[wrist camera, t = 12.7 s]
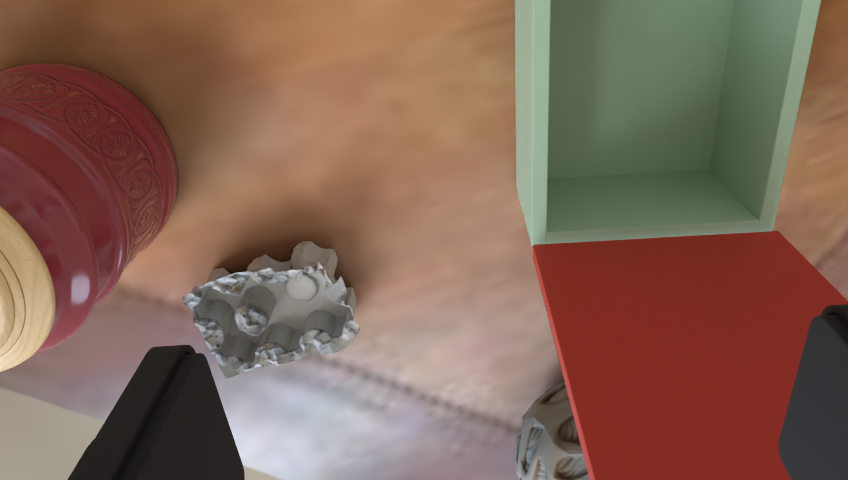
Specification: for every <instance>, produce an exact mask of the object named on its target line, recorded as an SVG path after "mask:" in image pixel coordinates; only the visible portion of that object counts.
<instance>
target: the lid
mask: <svg viewBox="0 0 848 480" xmlns="http://www.w3.org/2000/svg"><path fill="white" fill-rule="evenodd" d="M533 260H534V264H535V268H536V272H537V276H538V279H539V283H540V287H541V291H542V295H543V299H544V303H545V307H546V311H547V315H548V319H549V322H550V326H551V330H552V334H553V338H554V342H555V346H556V350H557V354H558V358H559V362H560V365H561V369H562V373H563V377H564V381H565V385H566V389H567V393H568V397H569V401H570V405H571V409H572V412H573V416H574V420H575V424H576V428H577V432H578V436H579V440H580V444H581V448H582V452H583V455H584V459H585V463H586V467H587V471H588V475H589V479H590V480H792V479H791V477H790V476H789V474H788V472H787V471H786V469H785V467H784V465H783V463H782V461H781V458H780V454H779V447H778V443H779V438H780V434H781V430H782V426H783V423H784V419H785V415H786V412H787V408H788V404H789V401H790V397H791V393H792V389H793V386H794V382H795V378H796V375H797V371H798V367H799V363H800V360H801V356H802V352H803V349H804V345H805V341H806V337H807V334H808V330H809V326H810V323H811V321H812V319H813V318H814V317H815V316H820V315H821V314H822V311H823V310H824V309H825V308H826V307H827V306H830V305H841V304H848V301H847V300H846V299H845V298H844V297H843V296H842V295H841V294H840V293H839V292H838V291H837V290H836V289H835V288H834V287H833V286H832V285H831V284H830V283H829V282H828V281H827V280H826V279H825V278H824V277H823V276H822V275H821V274H820V273H819V272H818V271H817V270H816V269H815V268H814V267H813V266H812V265H811V264H810V263H809V262H808V261H807V260H806V259H805V258H804V257H803V256H802V255H801V254H800V253H799V252H798V251H797V250H796V249H795V248H794V247H793V246H792V245H791V244H790V243H789V242H788V241H787V240H786V239H785V238H784V237H783V236H782V235H781V234H780V233H779V232H778V231H767V232H749V233H732V234H714V235H696V236H678V237H661V238H643V239H625V240H607V241H589V242H572V243H554V244H536V245H533Z"/></svg>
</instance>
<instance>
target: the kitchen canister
mask: <svg viewBox="0 0 848 480" xmlns="http://www.w3.org/2000/svg"><path fill="white" fill-rule="evenodd" d="M177 187H178V171H177V164H176V159H175V155H174V152H173V149H172V146H171V144H170V141H169V139H168V137H167V135H166V133H165V132H164V130H163V128H162V127H161V125H160V124H159V122H158V121H157V119H156V118H155V117H154V115H153V114H152V113H151V112H150V111H149V109H148V108H147V107H146V106H145V105H144V104H143V103H142V102H141V101H140V100H139V99H138V98H137V97H135V96H134V95H133V94H132V93H131V92H129V91H128V90H127V89H125V88H124V87H122V86H121V85H119V84H118V83H116V82H114V81H113V80H111V79H109V78H107V77H105V76H103V75H101V74H99V73H96V72H94V71H91V70H88V69H85V68H82V67H78V66H73V65H68V64H58V63H45V64H26V65H20V66H15V67H11V68H8V69H5V70H3V71H0V371H3V370H7V369H9V368H12V367H14V366H16V365H18V364H20V363H22V362H23V361H25V360H26V359H28V358H29V357H30V356H32V355H34V354H38V353H41V352H44V351H47V350H49V349H52V348H54V347H56V346H58V345H60V344H62V343H63V342H65V341H66V340H68V339H69V338H70V337H72V336H73V335H74V334H75V333H76V332H77V331H78V330H79V329H80V328H81V327H82V326H83V324H84V323H85V322H86V320H87V319H88V317H89V315H90V313H91V311H92V309H93V307H94V306H95V305H96V304H98V303H99V302H100V301H101V300H103V299H104V298H105V297H106V296H107V295H108V294H109V293H110V291H111V290H112V289H113V288H114V286H115V285H116V283H117V282H118V280H119V278H120V276H121V274H122V272H123V271H124V270H125V269H126V268H127V266H128V265H129V264H130V263H131V262H132V260H133V259H134V258H135V257H136V256H137V254H138V253H140V252H141V251H143V250H144V249H145V248H146V247H147V246H149V245H150V244H151V243H152V242H153V240H154V239H155V238H156V237H157V235H158V234H159V233H160V232H161V230H162V229H163V227H164V226H165V224H166V222H167V220H168V218H169V216H170V214H171V211H172V207H173V204H174V201H175V198H176V194H177Z"/></svg>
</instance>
